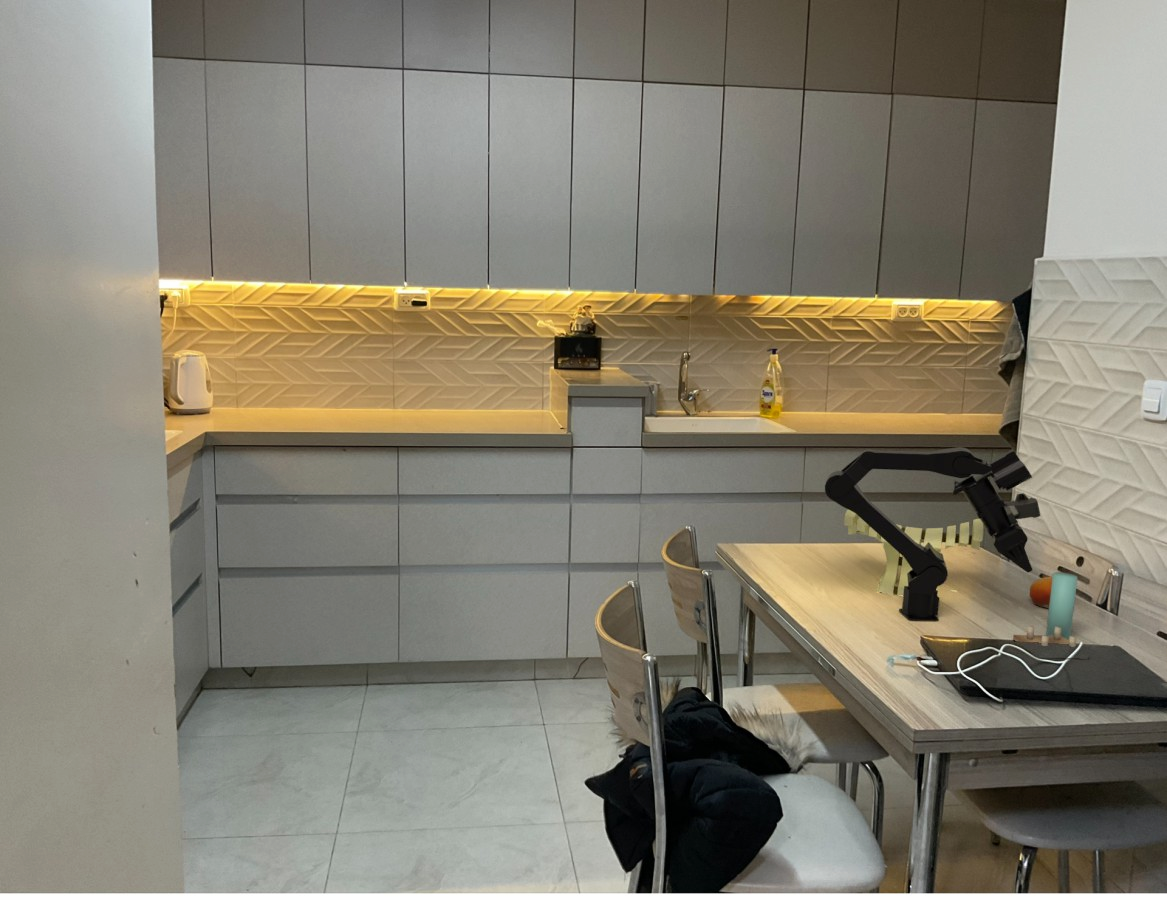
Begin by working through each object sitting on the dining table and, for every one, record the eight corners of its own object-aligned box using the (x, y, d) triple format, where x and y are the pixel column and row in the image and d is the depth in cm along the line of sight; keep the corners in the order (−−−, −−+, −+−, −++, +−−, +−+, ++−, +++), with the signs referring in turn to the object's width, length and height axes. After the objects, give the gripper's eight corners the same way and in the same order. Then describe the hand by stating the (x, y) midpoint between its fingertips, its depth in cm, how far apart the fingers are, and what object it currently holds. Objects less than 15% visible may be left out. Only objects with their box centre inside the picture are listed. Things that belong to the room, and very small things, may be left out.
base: (1037, 658, 187) (1039, 639, 186) (1012, 640, 197) (1014, 622, 196) (1088, 659, 187) (1090, 641, 187) (1061, 641, 197) (1063, 624, 196)
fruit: (1052, 608, 214) (1042, 573, 217) (1029, 616, 221) (1019, 582, 224) (1082, 607, 216) (1072, 572, 219) (1058, 615, 224) (1049, 581, 226)
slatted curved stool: (974, 587, 234) (982, 515, 231) (975, 606, 219) (983, 529, 216) (846, 571, 244) (852, 501, 242) (839, 587, 230) (845, 513, 227)
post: (1053, 640, 198) (1060, 578, 196) (1041, 632, 202) (1048, 572, 200) (1074, 640, 198) (1082, 578, 196) (1062, 633, 202) (1070, 572, 200)
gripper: (1029, 490, 191) (1072, 558, 190) (1016, 475, 209) (1056, 537, 208) (976, 518, 195) (1019, 584, 194) (968, 501, 212) (1007, 562, 212)
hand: (1027, 565), depth 202 cm, fingers open, 9 cm apart
